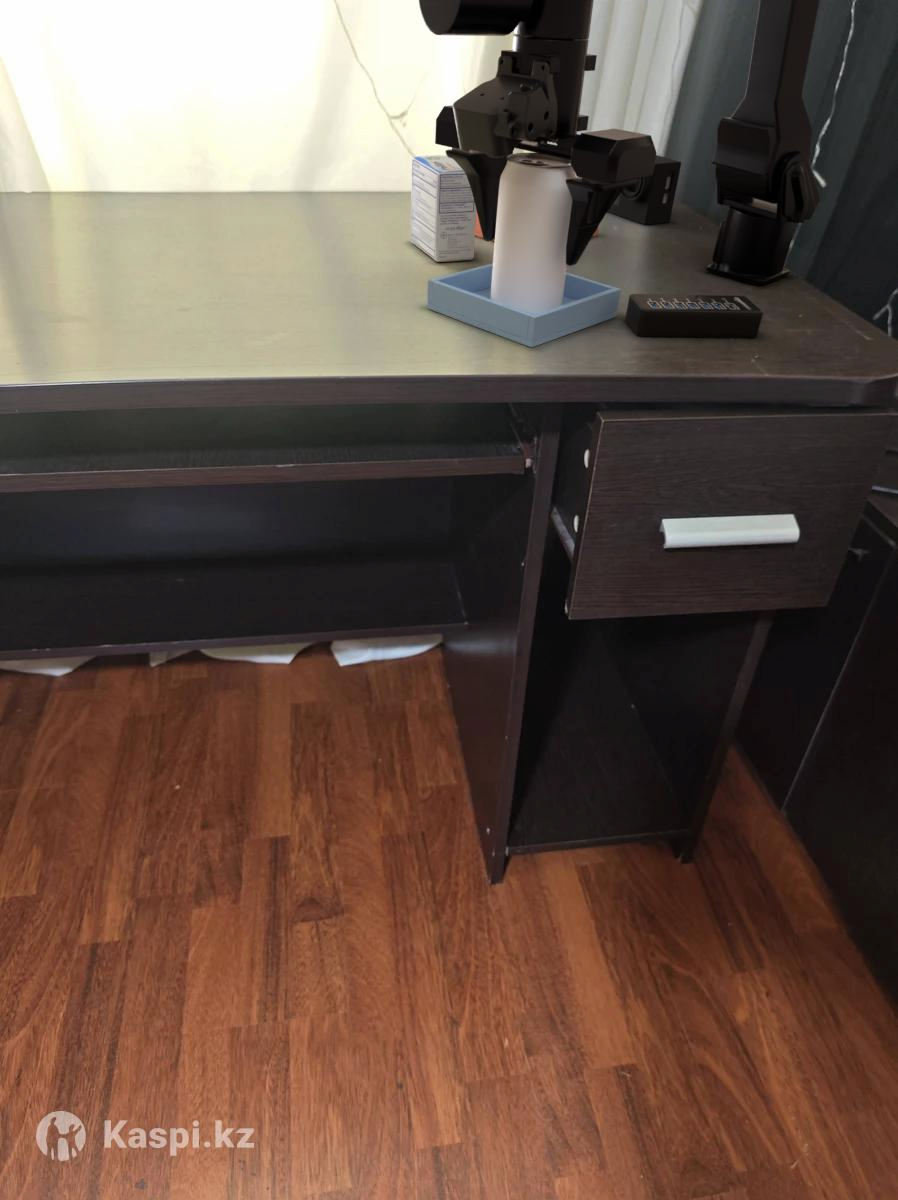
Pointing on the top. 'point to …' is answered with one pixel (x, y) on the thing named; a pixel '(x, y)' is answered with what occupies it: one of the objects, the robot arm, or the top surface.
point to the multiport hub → (693, 316)
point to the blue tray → (472, 305)
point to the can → (532, 232)
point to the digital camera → (650, 194)
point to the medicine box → (442, 209)
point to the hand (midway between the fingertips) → (528, 252)
